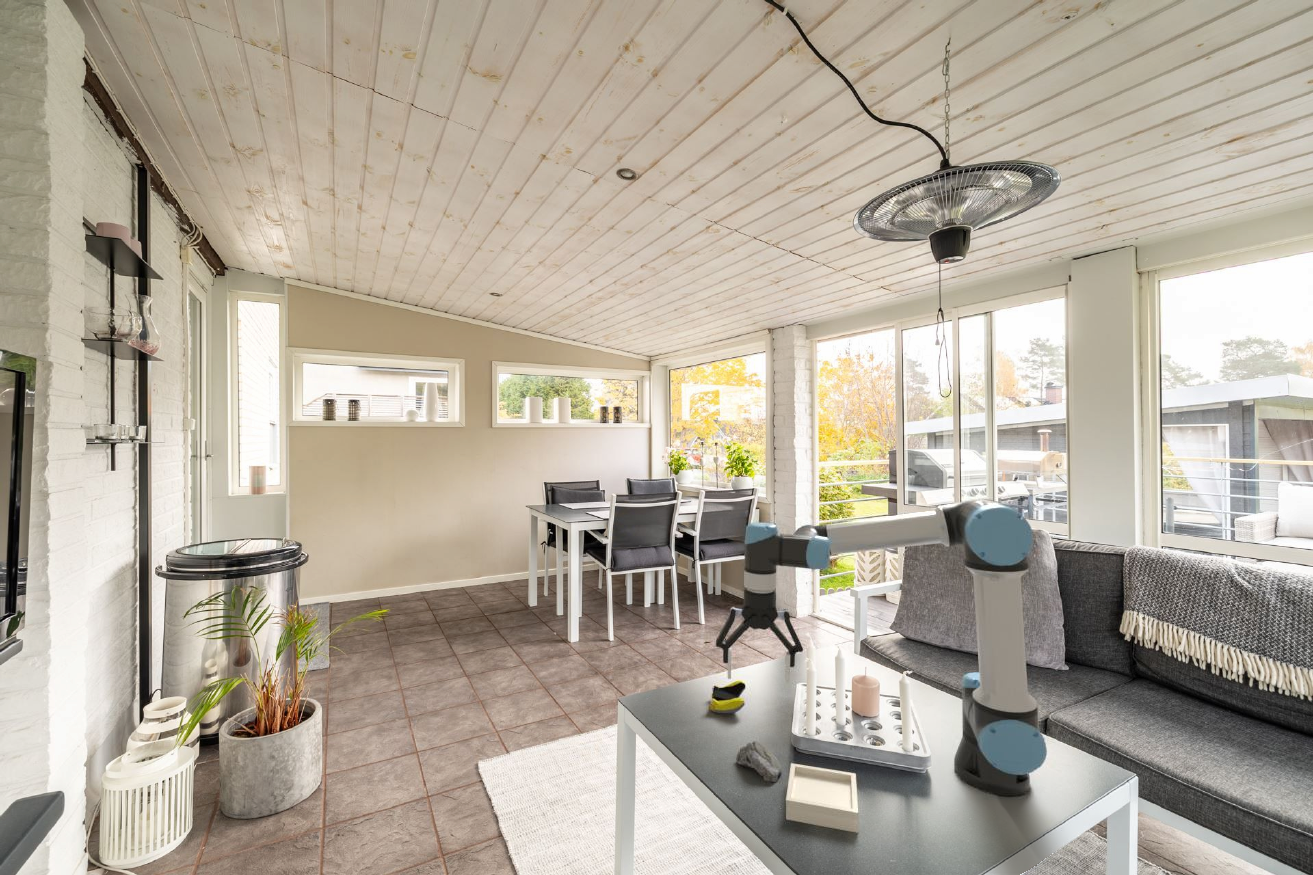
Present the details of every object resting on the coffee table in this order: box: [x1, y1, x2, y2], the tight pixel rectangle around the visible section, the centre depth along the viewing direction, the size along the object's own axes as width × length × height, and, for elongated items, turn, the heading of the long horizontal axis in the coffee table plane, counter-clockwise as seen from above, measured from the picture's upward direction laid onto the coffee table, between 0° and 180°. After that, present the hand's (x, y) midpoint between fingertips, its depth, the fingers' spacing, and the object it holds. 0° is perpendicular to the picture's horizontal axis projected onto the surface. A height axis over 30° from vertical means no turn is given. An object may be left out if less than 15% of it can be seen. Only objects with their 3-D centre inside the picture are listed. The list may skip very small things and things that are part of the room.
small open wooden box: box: [785, 762, 859, 834], centre depth 124 cm, size 14×14×4 cm
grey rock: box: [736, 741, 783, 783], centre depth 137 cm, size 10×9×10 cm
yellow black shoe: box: [709, 680, 746, 714], centre depth 169 cm, size 15×6×10 cm
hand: (758, 678), depth 137 cm, fingers open, 13 cm apart
